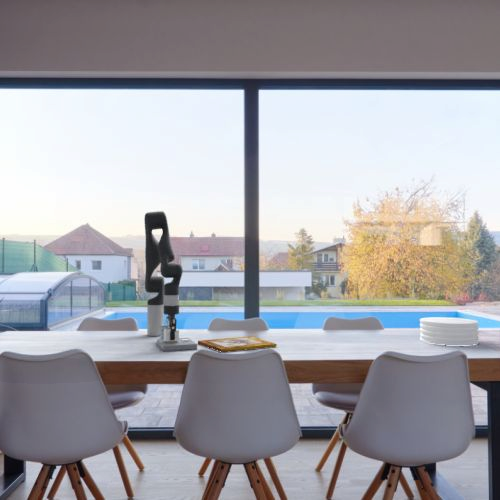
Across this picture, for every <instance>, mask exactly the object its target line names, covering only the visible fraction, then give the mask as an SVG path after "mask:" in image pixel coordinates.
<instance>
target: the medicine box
mask: <svg viewBox="0 0 500 500" xmlns="http://www.w3.org/2000/svg"><path fill="white" fill-rule="evenodd" d="M164 329H167V324H164V325H160V336H159V339H164ZM173 329H174V328H173Z"/></svg>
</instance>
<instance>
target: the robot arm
mask: <svg viewBox="0 0 500 500" xmlns="http://www.w3.org/2000/svg"><path fill="white" fill-rule="evenodd" d="M154 230H162V233H161V237H160V239H159V241H158V240H157V238H156V237H155V236H154V234H153V231H154ZM144 233H145V248H144V249H145V251H144V253H145V256H144V257H145V278H144V289H145V290H144V291H145V292H146V293H150V294H153V293H154V294H155V293H156V294H157V293H158V294H157V295H156V296H154V297H152V298H149V299H148V300H147V307H146V308H147V309H146V310H147V314H146V315H147V316H146V319H147V321H146V322H147V324H146V326H147V327H146V328H147V329H146V335H147V336H148V337H150V336H151V337H160V325H165V318H164V317H165V315H166V325H167V329H170V340H175V331H176V329H177V318H176V315H179V314H180V296H179V295H180V293H179V292H180V291H179V290H180V283H181V279H182V275H183V267H182V265H181V264H180V263H174V260H175V257H176V256H175V253H174V249H173V246H172V243H171V235H170V229H169V224H168V219H167V214H166V213H165V211H163V210H162V211H161V210H159V211H149V212H146V213H145V215H144ZM172 262H173V263H172ZM159 266H160V275H161V276H159V275H158V276H153V273H154V272H155V270H156V269H157V268H158V267H159ZM165 279H172V280H171V281H170V282H166V283H165ZM173 328H174V329H173Z"/></svg>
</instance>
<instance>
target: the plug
mask: <svg viewBox="0 0 500 500" xmlns="http://www.w3.org/2000/svg"><path fill="white" fill-rule="evenodd" d="M179 338H180V330H179V329H178V328H176V331H175V340H170V329H164V340H165V341H166V343H176V341H179Z"/></svg>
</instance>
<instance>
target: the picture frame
mask: <svg viewBox="0 0 500 500" xmlns="http://www.w3.org/2000/svg"><path fill="white" fill-rule="evenodd" d="M200 344H201V346H202V345H204V346H203V347H205V346H206V347H205V348H207V347H209V348H208V349H210V348H213V349H215V350H218V351H221V352H224V353H229V352H228V351H233V352H237V351H236V350H243V351H246V350H245V349H253V350H256V349H255V348H262V349H266V348H265V347H272V348H276V347H275V346H277V343H275V342H271V341H268V340H265V339H261V338H257V337H255V336H250V335H249V336H237V337H236V336H235V337H225V338H216V339H215V338H213V339H201V340H198V341H197V345H200ZM213 349H212V350H213ZM215 350H214V351H215ZM218 351H217V352H218ZM221 352H220V353H221Z"/></svg>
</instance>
